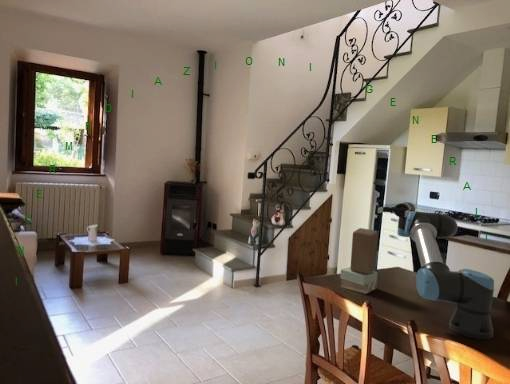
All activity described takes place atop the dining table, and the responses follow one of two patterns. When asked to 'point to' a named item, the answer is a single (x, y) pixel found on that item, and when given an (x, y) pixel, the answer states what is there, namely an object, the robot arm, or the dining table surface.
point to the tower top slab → (358, 276)
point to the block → (364, 250)
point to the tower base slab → (358, 286)
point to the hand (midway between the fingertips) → (391, 212)
